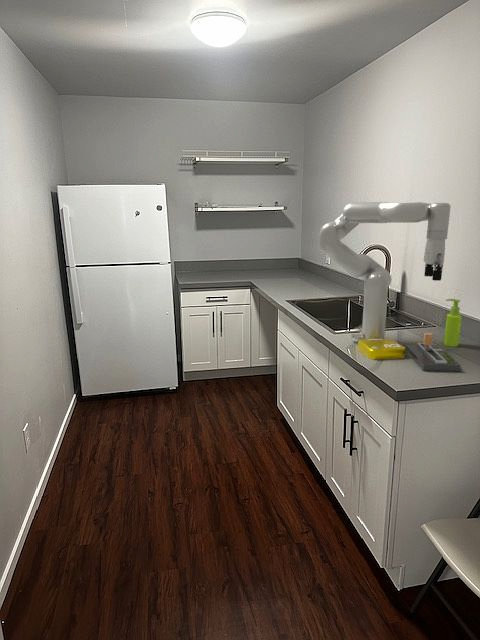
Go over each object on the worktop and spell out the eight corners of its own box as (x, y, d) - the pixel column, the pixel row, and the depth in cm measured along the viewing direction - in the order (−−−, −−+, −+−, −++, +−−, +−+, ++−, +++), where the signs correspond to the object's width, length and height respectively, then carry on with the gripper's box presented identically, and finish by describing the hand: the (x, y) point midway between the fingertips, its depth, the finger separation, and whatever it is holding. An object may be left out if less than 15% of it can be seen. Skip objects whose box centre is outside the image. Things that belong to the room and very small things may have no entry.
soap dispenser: (443, 341, 201) (448, 297, 196) (459, 344, 197) (465, 299, 192) (439, 344, 197) (444, 299, 192) (456, 347, 193) (461, 301, 188)
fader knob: (424, 350, 180) (426, 334, 179) (421, 347, 184) (423, 332, 182) (432, 350, 180) (433, 335, 178) (429, 347, 184) (430, 332, 182)
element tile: (389, 347, 195) (390, 336, 194) (406, 358, 181) (407, 347, 179) (355, 349, 193) (356, 338, 192) (370, 361, 179) (371, 349, 177)
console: (423, 370, 167) (424, 361, 166) (404, 350, 190) (405, 342, 189) (459, 371, 166) (460, 362, 165) (436, 350, 189) (437, 342, 188)
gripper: (420, 233, 187) (416, 274, 191) (434, 236, 170) (430, 282, 174) (439, 233, 186) (434, 274, 191) (455, 236, 170) (450, 282, 174)
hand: (432, 278), depth 182 cm, fingers open, 9 cm apart
